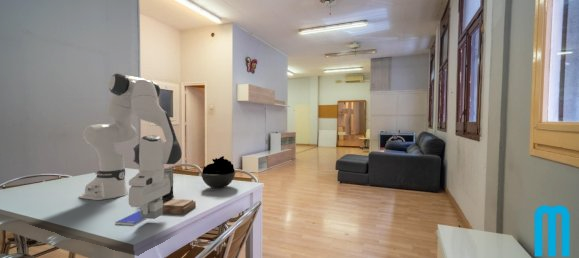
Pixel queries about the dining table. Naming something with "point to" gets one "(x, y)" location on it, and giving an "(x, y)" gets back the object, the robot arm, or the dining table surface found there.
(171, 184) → the milk frother
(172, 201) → the walnut stand
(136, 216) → the hard drive
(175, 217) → the dining table surface
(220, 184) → the coal bowl
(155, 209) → the block
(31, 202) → the dining table surface
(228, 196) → the dining table surface
